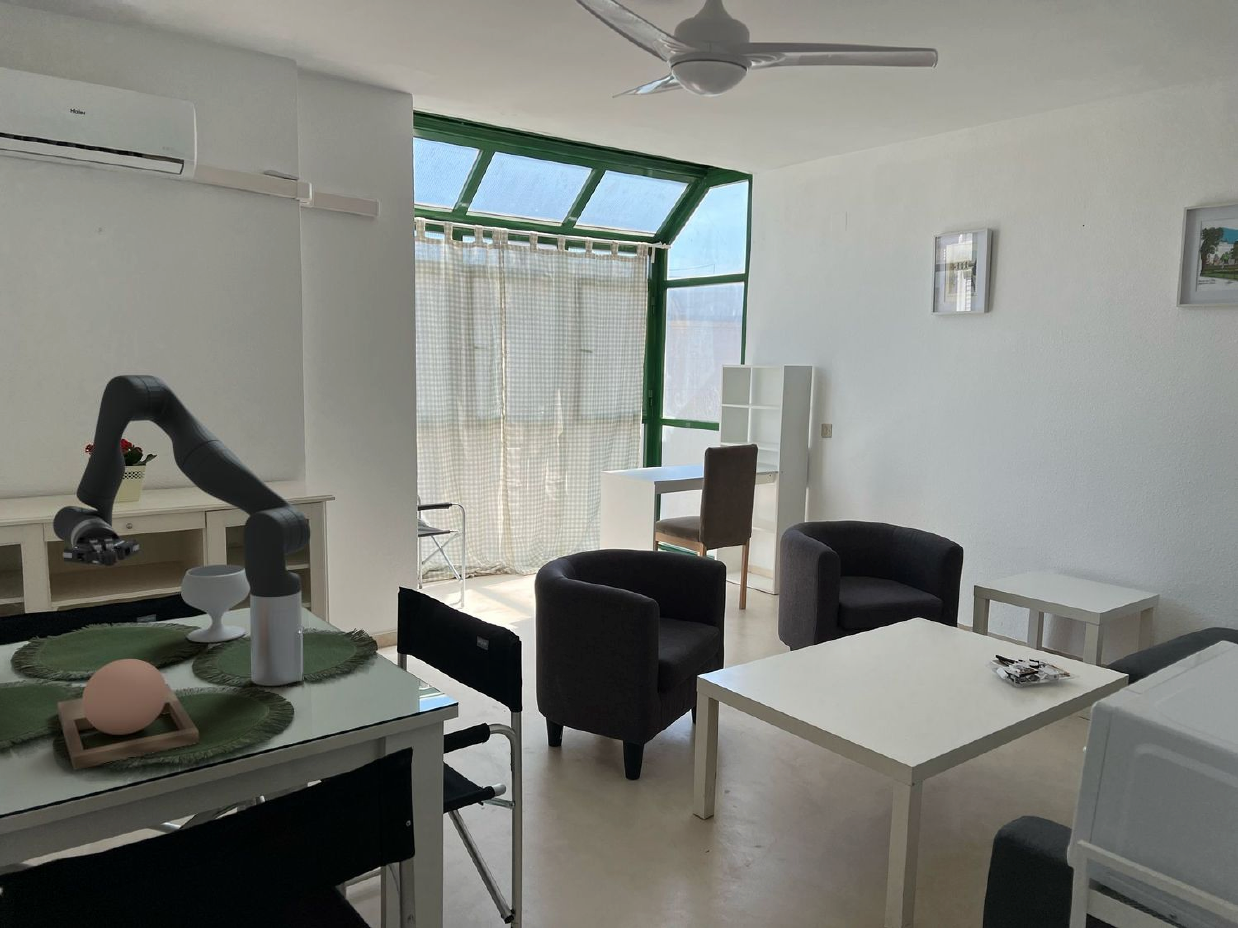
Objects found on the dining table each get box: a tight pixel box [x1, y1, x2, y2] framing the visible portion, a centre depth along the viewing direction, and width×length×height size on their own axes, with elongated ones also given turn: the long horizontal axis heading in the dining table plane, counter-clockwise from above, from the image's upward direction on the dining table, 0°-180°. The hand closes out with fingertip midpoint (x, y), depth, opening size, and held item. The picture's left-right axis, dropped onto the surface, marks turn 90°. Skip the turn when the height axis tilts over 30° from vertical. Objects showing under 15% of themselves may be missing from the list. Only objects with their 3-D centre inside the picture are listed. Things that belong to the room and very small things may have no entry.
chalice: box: [180, 564, 250, 643], centre depth 194 cm, size 14×14×15 cm
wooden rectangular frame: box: [57, 683, 200, 771], centre depth 143 cm, size 17×26×2 cm, turn 37°
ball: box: [82, 658, 167, 736], centre depth 142 cm, size 12×12×12 cm
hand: (109, 560), depth 156 cm, fingers closed
